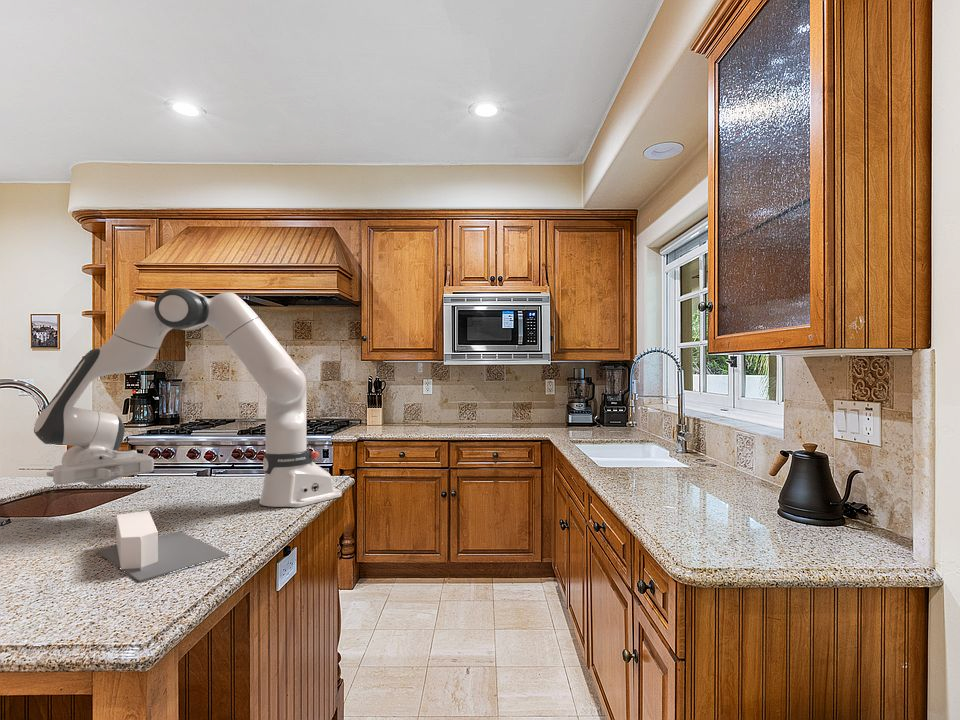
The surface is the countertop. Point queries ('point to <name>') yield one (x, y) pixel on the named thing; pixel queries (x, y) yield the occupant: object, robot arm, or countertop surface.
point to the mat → (169, 556)
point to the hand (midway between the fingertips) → (115, 473)
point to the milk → (136, 540)
